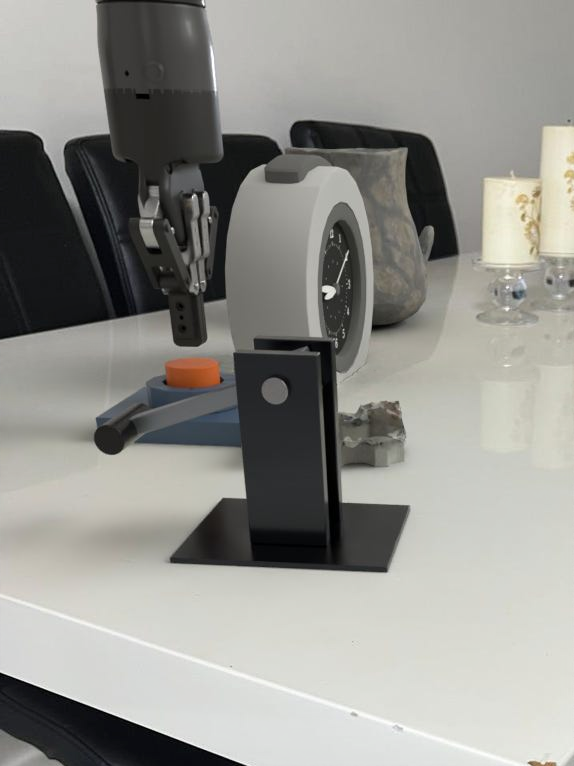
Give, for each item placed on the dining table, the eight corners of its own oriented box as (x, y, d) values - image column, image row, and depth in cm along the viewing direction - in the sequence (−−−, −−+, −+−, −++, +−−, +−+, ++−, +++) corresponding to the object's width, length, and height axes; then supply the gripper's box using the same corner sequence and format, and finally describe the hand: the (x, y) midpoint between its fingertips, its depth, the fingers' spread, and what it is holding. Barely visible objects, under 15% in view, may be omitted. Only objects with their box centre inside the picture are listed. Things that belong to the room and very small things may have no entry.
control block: (100, 452, 75) (91, 393, 73) (148, 418, 84) (141, 364, 82) (258, 459, 74) (252, 399, 72) (289, 423, 83) (285, 369, 81)
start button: (159, 390, 76) (156, 367, 75) (177, 379, 79) (174, 356, 78) (211, 392, 75) (209, 369, 75) (226, 380, 79) (224, 358, 78)
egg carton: (406, 452, 77) (406, 399, 75) (406, 482, 70) (406, 425, 68) (267, 450, 76) (263, 397, 74) (253, 481, 70) (249, 423, 68)
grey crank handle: (104, 465, 55) (84, 423, 54) (138, 439, 59) (120, 401, 58) (309, 403, 52) (292, 359, 51) (328, 382, 57) (313, 340, 56)
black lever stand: (171, 577, 55) (142, 360, 49) (224, 515, 64) (204, 324, 58) (387, 587, 54) (382, 368, 49) (410, 522, 63) (408, 331, 58)
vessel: (261, 339, 115) (245, 146, 106) (271, 308, 134) (259, 143, 125) (448, 338, 118) (448, 150, 108) (432, 308, 137) (431, 146, 128)
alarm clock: (312, 403, 89) (298, 158, 80) (233, 397, 91) (211, 156, 81) (376, 356, 108) (370, 153, 99) (310, 352, 109) (299, 151, 100)
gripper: (142, 87, 74) (171, 328, 82) (65, 80, 62) (108, 362, 70) (241, 89, 74) (261, 330, 82) (183, 82, 62) (213, 365, 70)
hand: (190, 344), depth 76 cm, fingers closed
